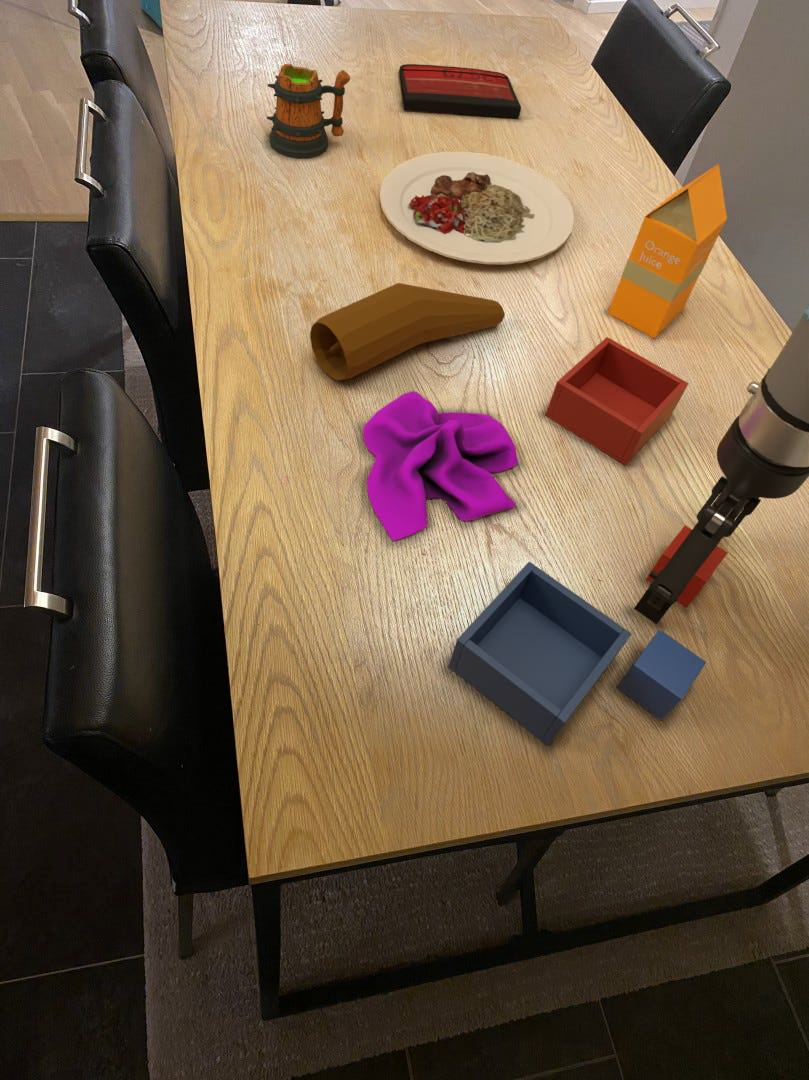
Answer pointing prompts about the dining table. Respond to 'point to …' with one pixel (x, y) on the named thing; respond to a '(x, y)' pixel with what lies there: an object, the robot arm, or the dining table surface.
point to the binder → (457, 91)
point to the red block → (700, 575)
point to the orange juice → (670, 254)
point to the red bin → (615, 400)
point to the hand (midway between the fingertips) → (677, 573)
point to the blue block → (661, 675)
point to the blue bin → (537, 651)
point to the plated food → (476, 207)
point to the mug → (304, 112)
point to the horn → (395, 326)
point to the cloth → (434, 463)
